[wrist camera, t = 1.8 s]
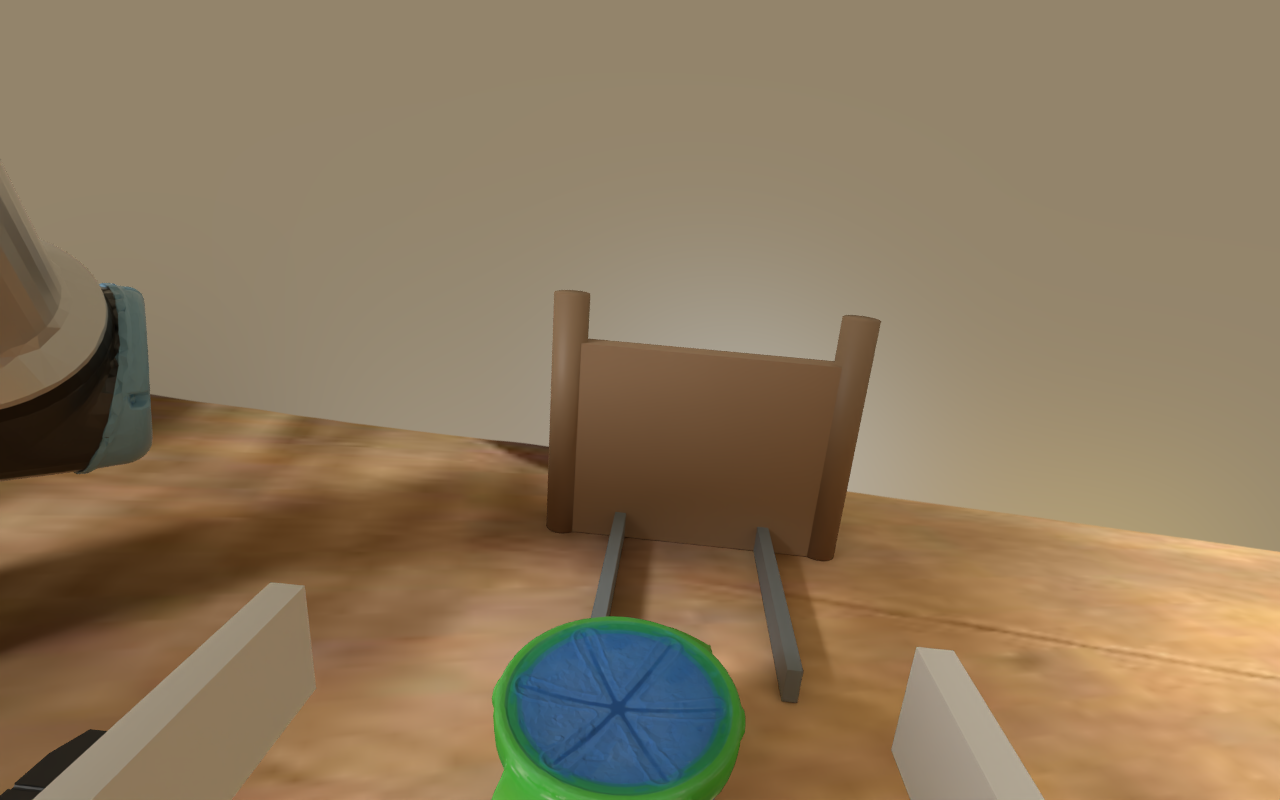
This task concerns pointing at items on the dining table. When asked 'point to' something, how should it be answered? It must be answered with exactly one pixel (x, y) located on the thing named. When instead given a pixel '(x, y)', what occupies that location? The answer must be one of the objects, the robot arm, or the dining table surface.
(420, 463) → the dining table surface
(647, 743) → the snack cup
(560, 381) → the headboard cradle
